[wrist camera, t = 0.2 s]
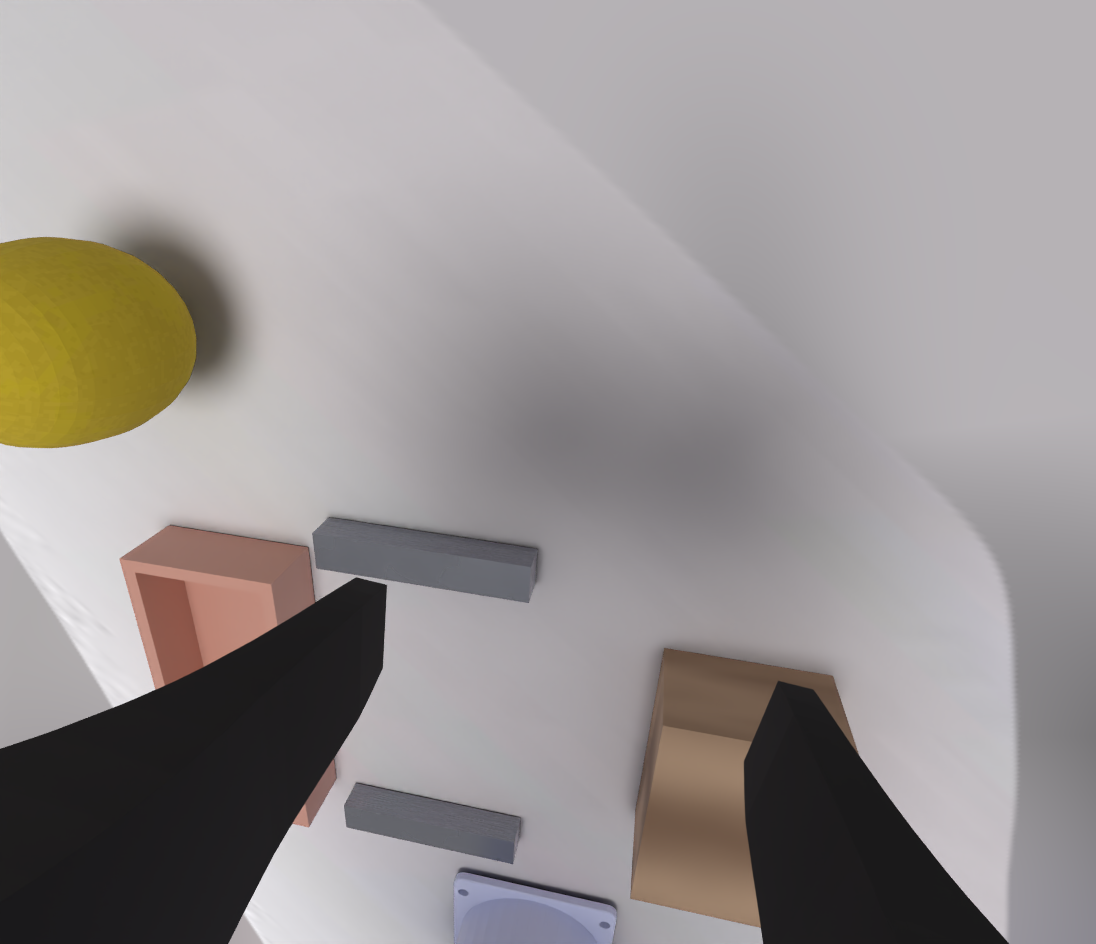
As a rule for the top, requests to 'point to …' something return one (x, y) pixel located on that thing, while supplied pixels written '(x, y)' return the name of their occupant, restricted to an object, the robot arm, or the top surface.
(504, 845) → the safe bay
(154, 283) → the lemon
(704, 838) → the block
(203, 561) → the tray
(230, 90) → the top surface
